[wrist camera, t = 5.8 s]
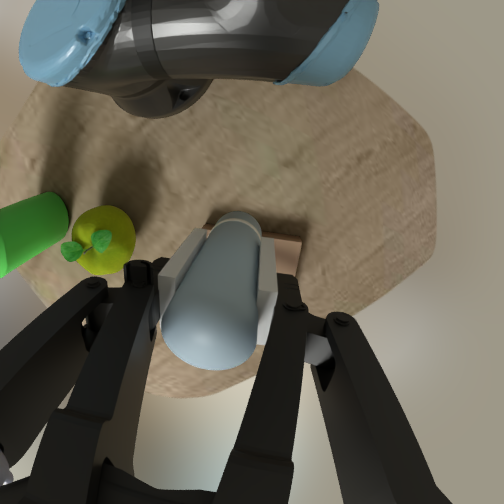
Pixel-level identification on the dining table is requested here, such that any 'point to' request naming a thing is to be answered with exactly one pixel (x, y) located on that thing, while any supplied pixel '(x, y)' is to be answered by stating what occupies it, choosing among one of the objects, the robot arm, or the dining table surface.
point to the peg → (218, 298)
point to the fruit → (101, 240)
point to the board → (280, 250)
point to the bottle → (30, 229)
